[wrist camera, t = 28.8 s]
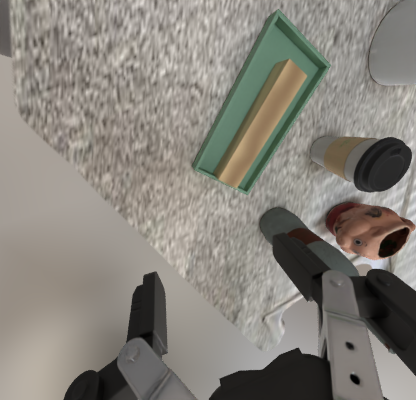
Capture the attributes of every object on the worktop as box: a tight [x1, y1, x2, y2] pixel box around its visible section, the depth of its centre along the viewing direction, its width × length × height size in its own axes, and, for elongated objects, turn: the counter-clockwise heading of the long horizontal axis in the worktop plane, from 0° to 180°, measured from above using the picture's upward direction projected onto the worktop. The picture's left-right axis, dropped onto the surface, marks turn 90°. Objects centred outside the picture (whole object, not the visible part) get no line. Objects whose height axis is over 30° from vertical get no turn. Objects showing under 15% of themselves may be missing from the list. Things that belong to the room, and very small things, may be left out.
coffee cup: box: [310, 136, 412, 192], centre depth 37 cm, size 9×9×15 cm
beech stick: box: [213, 59, 307, 189], centre depth 35 cm, size 4×22×4 cm, turn 150°
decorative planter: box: [326, 202, 416, 260], centre depth 49 cm, size 20×12×14 cm, turn 105°
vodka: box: [260, 208, 395, 354], centre depth 37 cm, size 9×9×30 cm
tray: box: [192, 9, 331, 195], centre depth 36 cm, size 27×13×3 cm, turn 151°
